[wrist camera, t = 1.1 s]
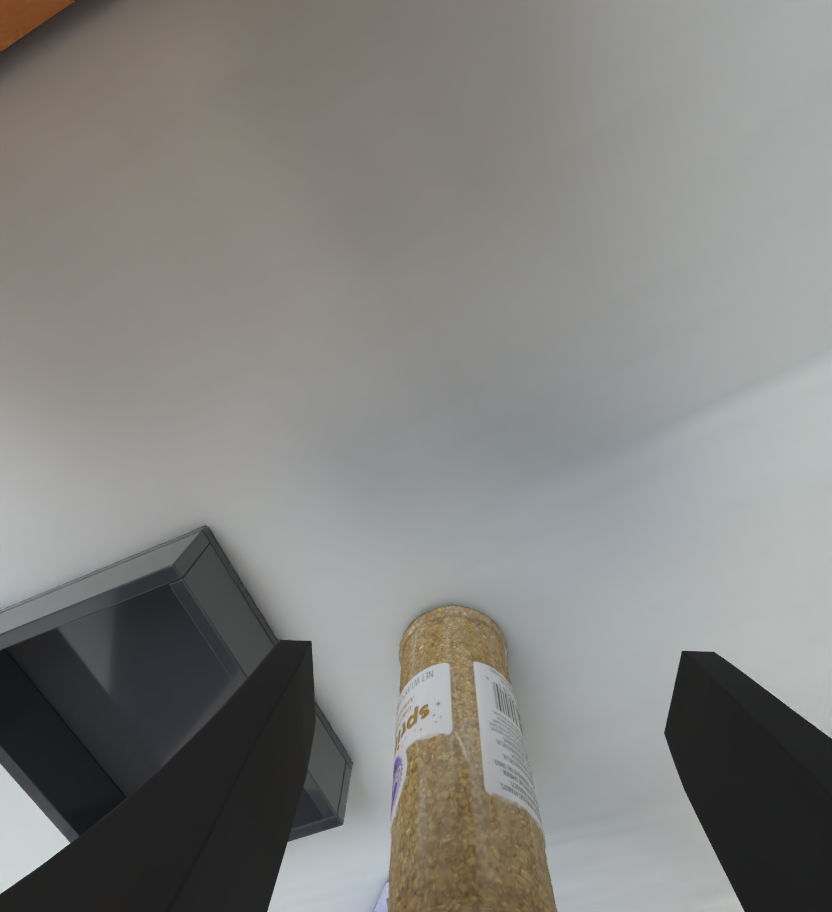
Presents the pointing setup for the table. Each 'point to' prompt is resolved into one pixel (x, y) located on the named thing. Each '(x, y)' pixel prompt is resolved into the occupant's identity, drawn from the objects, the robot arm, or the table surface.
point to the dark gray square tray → (137, 682)
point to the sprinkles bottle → (462, 776)
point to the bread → (25, 17)
